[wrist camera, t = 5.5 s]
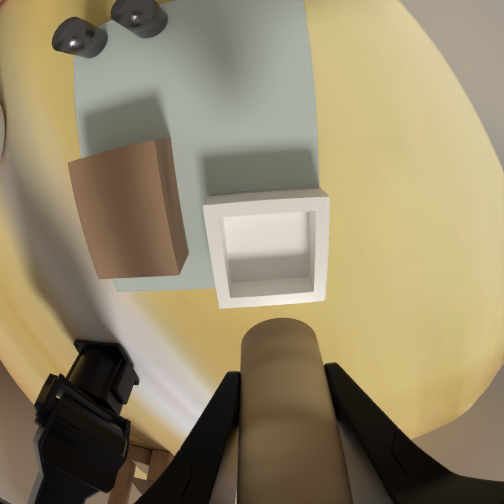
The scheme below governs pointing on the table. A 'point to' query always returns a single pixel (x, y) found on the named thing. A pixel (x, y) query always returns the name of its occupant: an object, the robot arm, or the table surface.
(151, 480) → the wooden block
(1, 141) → the supplement tub
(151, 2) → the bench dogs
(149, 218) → the cardboard brown brick
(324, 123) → the table surface
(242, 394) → the dowel
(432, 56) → the table surface
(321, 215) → the tray
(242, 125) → the mat
